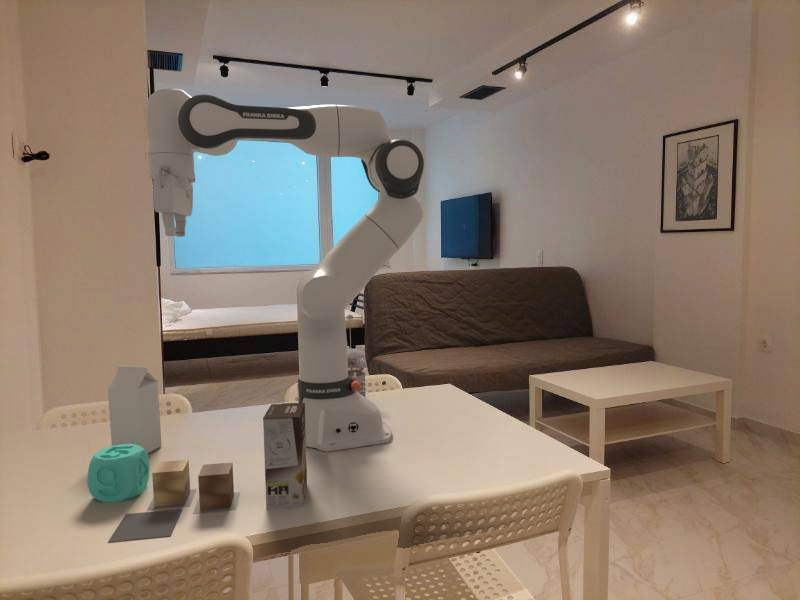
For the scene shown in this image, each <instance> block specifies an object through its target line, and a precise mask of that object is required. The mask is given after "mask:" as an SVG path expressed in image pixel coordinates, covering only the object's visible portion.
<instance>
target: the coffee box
mask: <svg viewBox="0 0 800 600" xmlns="http://www.w3.org/2000/svg"><path fill="white" fill-rule="evenodd" d="M262 422H263V424H262V425H263V447H264V448H263V451H264V453H263V454H264V476H265V477H264V478H265V481H264V482H265V509H266V510H278V509H294V508H295V509H296V508H302V507H303V506H304V502H305V496H306V492H307V489H308V488H307V487H308V471H307V470H308V468H307V467H308V466H307V446H306V427H305V403H299V402H287V403H283V402H282V403H271V404H270V406H269V407H268V409H267V410H266V412H265V414H264V416H263V417H262Z"/></svg>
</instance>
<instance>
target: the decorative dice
mask: <svg viewBox="0 0 800 600" xmlns="http://www.w3.org/2000/svg"><path fill="white" fill-rule="evenodd" d="M149 457H150V456H149V453H148V454H147V452H146V451H145V450H144V449H143V448H142V447H141V446H139V445H135V444H122V445H115V446H112V445H111V446H108V447H104V448H102V449H100V450H98V451H96V452H95V453H94V455H93V456H92V458H91V460H90V462H89V466H88V471H87V488H88V492H89V494H90V495H91V496H92V497H93V498H94V499H95V500H97V501H99V502H101V503H116V502H117V503H118V502H123V501H127V500H130V499H134V498H136V497H139V496H140V495H141V494H143V493H144V491H145V490H147V489H146V488H147V486H148V483H149V479H150V478H149V477H150V458H149Z"/></svg>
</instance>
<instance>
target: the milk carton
mask: <svg viewBox="0 0 800 600" xmlns="http://www.w3.org/2000/svg"><path fill="white" fill-rule="evenodd" d="M107 394H108V395H107V396H108V397H107V398H108V409H109V410H108V411H109V423H110V425H109V427H110V437H111V438H110V441H111V446H115V445H122V444H135V445H139V446H141V447H142V448H143V449H144V450H145V451H146V452H147V454H148V455H149V454H150V453H152V452H153V451H155V450H156V449H159V448H160V447H162V430H161V429H162V428H161V417H160V416H161V413H160V396H159V381H158V379H156V378H155V377H154V376H153V375H152V374H150V373H149V371H148V367H147V366H137V365H135V366H133V365H117V372H116V373H115V375H114V377H113V379H112V380H111V382H110V384H109V385H108V386H107Z"/></svg>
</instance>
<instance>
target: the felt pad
mask: <svg viewBox="0 0 800 600" xmlns="http://www.w3.org/2000/svg"><path fill="white" fill-rule="evenodd" d="M182 512H183V508H177V509H167V510H166V509H165V510H154V511H146V512H145V511H144V512H131V513H125V514H124V516H123V518H122V519H121V521H120V522H119V524H118V525H117V527H116V528H115V530H114V531H113V534H112V535H111V536H110V538H109V540H108V541H107V543H109V544H110V543H118V542H119V543H120V542H130V541H137V540H138V541H142V540H148V539H150V540H151V539H161V538H169V537H171V536H172V534H173V533H174V530H175V528H176V525H177V523H178V521H179V519H180V516H181V514H182Z"/></svg>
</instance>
